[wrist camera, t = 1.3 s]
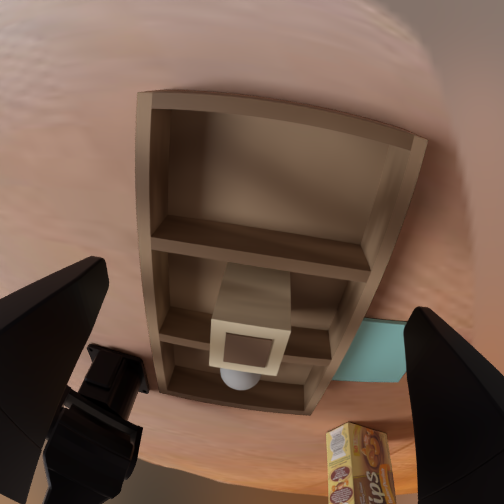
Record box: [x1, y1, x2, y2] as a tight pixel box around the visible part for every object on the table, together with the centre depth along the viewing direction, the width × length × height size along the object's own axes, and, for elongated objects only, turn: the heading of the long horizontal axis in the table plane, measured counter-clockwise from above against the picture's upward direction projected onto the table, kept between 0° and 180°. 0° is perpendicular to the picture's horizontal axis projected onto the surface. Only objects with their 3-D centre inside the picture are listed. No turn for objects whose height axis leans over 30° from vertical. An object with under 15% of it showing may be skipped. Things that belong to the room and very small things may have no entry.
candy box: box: [326, 422, 396, 504], centre depth 27 cm, size 9×4×15 cm, turn 56°
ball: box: [220, 368, 261, 390], centre depth 24 cm, size 3×3×3 cm
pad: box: [332, 318, 407, 382], centre depth 24 cm, size 8×8×1 cm
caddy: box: [135, 90, 428, 415], centre depth 20 cm, size 24×14×3 cm, turn 173°
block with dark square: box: [209, 262, 291, 376], centre depth 18 cm, size 4×4×6 cm
